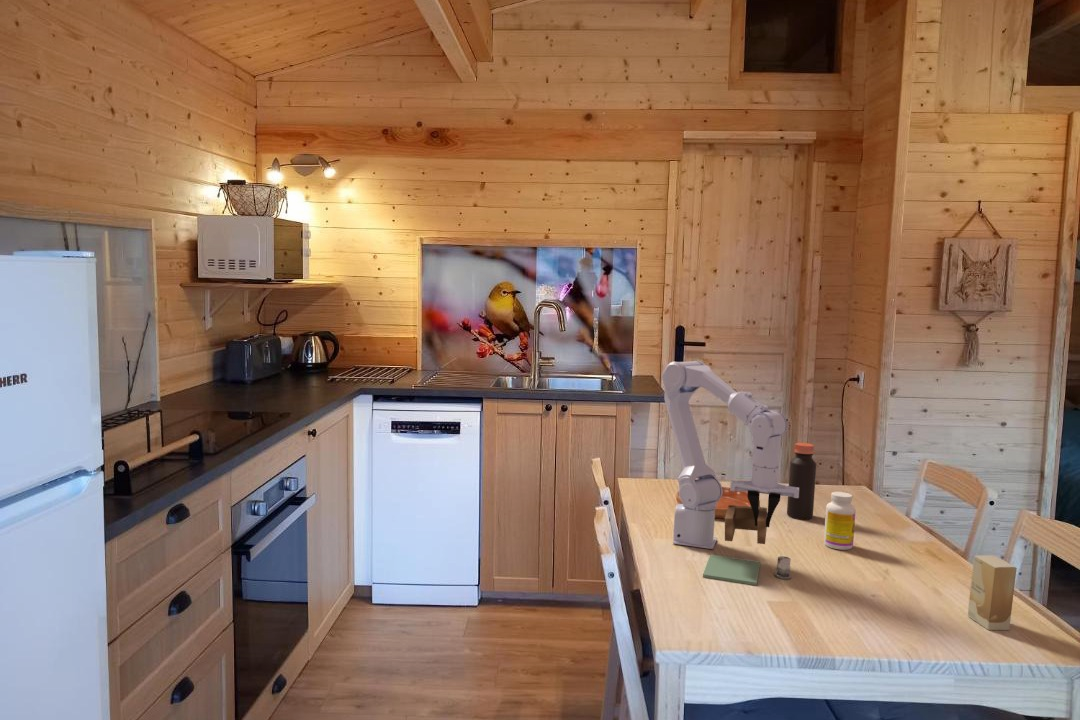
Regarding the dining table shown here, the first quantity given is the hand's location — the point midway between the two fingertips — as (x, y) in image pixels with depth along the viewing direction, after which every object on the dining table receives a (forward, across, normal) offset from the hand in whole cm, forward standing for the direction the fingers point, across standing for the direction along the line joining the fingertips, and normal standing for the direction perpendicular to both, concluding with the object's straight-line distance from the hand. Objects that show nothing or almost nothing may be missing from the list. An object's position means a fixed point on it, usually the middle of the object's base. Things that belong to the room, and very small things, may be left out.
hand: (762, 525), depth 167 cm
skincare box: (+9, +42, -15) cm, 45 cm away
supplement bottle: (+9, +17, +21) cm, 28 cm away
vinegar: (+9, +9, +43) cm, 45 cm away
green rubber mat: (+9, -6, -6) cm, 12 cm away
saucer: (+9, -13, +41) cm, 44 cm away
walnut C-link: (+2, -3, -2) cm, 4 cm away
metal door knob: (+9, +5, -6) cm, 12 cm away
